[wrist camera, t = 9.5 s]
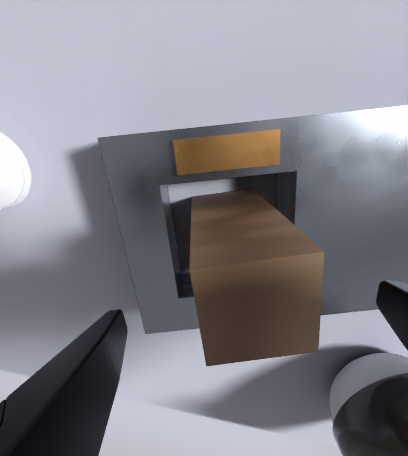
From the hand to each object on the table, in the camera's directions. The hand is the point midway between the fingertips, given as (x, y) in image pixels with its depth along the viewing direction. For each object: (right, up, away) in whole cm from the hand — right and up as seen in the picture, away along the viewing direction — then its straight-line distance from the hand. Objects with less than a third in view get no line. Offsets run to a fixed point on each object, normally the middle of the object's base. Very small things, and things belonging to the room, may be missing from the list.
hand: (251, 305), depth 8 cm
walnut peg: (0, +3, +8) cm, 8 cm away
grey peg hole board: (+4, +3, +8) cm, 9 cm away
